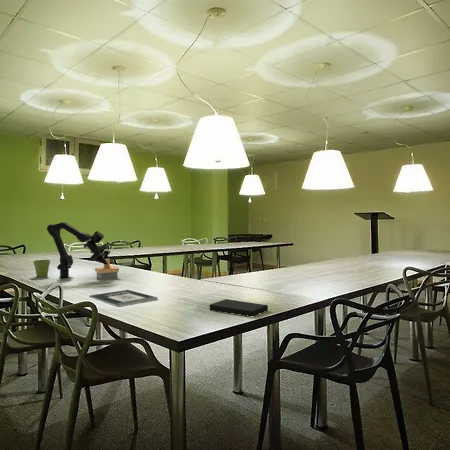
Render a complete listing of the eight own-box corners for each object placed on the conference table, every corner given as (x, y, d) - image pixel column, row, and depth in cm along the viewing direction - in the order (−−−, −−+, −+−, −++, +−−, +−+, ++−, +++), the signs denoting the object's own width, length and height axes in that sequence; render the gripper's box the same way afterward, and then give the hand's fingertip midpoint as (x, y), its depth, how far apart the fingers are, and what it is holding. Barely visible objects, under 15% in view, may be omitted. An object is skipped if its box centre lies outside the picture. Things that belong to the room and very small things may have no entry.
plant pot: (30, 276, 281) (29, 260, 280) (46, 274, 289) (46, 259, 289) (37, 278, 273) (36, 262, 272) (53, 276, 282) (53, 260, 281)
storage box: (96, 278, 270) (96, 270, 270) (112, 277, 276) (112, 268, 276) (101, 280, 261) (101, 272, 261) (117, 279, 267) (117, 270, 267)
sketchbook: (127, 292, 227) (127, 288, 227) (158, 301, 204) (158, 296, 204) (89, 297, 211) (89, 293, 211) (118, 308, 188) (118, 303, 188)
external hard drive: (252, 318, 169) (252, 311, 168) (209, 310, 181) (209, 304, 181) (267, 311, 180) (267, 304, 180) (226, 304, 193) (226, 299, 193)
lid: (95, 271, 270) (95, 258, 270) (112, 269, 277) (112, 257, 277) (100, 273, 260) (100, 260, 259) (118, 271, 267) (118, 259, 267)
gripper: (94, 240, 259) (109, 257, 258) (107, 238, 278) (122, 254, 276) (83, 252, 261) (99, 269, 259) (97, 249, 279) (112, 265, 278)
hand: (108, 264), depth 268 cm, fingers closed on lid, 4 cm apart
